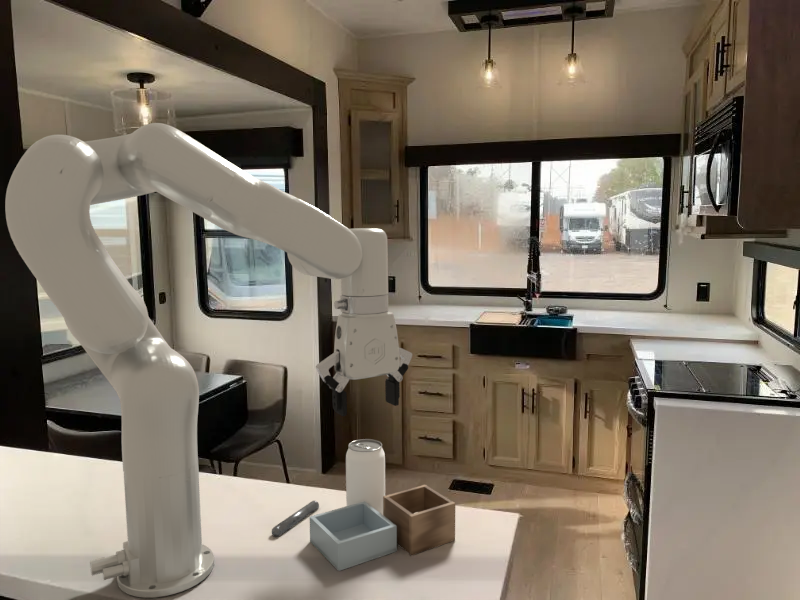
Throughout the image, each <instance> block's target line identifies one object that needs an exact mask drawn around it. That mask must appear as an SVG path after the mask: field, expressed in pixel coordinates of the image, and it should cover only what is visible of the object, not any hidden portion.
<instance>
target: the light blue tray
mask: <svg viewBox="0 0 800 600" xmlns="http://www.w3.org/2000/svg"><path fill="white" fill-rule="evenodd" d="M309 542H310V543H311V544H312V546H313V547H315V548H316V549H317V550H318V551H319V553H321V555H322V556H323V557H324V558H325V559H326V560H327V561H328V562H329V563H330V564H331V565H332V566H333V567H334V568H335V569H336V570H337V571H338V572H340V571H343V570H346V569H349V568H352V567H355V566H358V565H360V564H361V565H362V564H363V563H367V562H370V561H373V560H376V559H378V558H381V557H384V556H388V555H390V554H394V553H396V552H397V551H398V548H397V545H398V544H397V526H396V525H395V524H394V523H392V522H391V521H390V520H388V519H387V518H386V517H385V516H383V515H382V514H381V513H379V512H378V511H377V510H375V509H374V508H373V507H372V506H370V505H369V504H368V503H366V502H365V501H364V502H360V503H357V504H353V505H349V506H347V505H346V506H342V507H339V508H336V509H332V510H329V511H325V512H322V513H318V514H313V515H311V516H310V515H309Z"/></svg>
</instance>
